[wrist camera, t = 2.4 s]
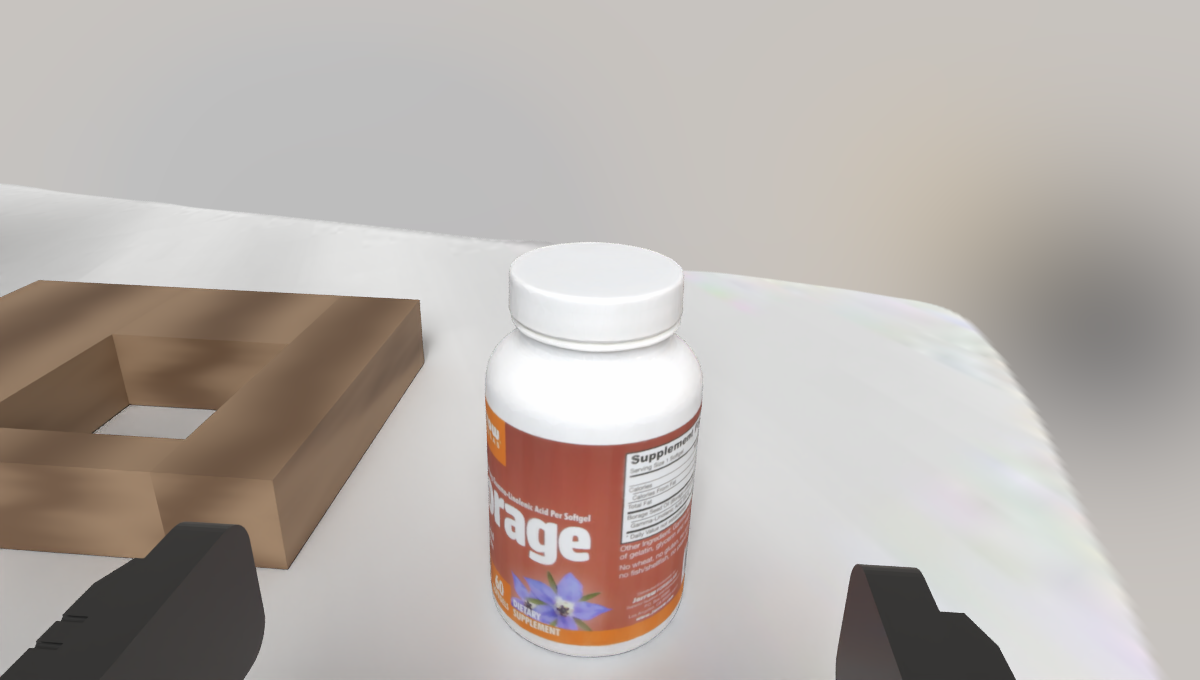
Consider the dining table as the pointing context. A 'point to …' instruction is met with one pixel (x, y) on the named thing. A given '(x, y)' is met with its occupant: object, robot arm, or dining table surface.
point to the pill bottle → (591, 448)
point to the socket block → (189, 380)
